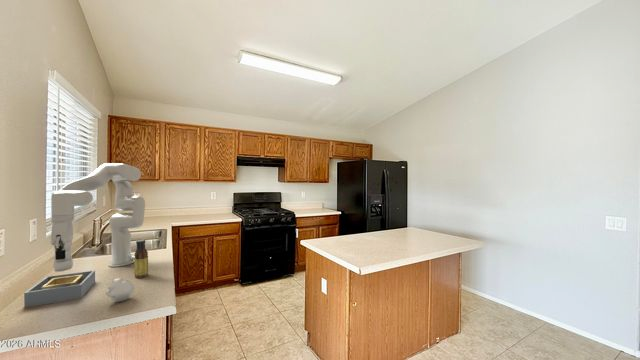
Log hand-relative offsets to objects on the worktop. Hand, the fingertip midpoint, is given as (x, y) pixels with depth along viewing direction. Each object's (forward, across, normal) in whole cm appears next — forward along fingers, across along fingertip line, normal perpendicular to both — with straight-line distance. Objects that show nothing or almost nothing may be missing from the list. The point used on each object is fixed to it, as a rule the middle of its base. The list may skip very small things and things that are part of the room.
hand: (63, 256), depth 120 cm
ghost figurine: (+17, +21, +25) cm, 37 cm away
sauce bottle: (+17, -8, +29) cm, 35 cm away
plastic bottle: (+7, 0, 0) cm, 7 cm away
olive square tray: (+17, 0, 0) cm, 17 cm away
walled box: (+17, 0, 0) cm, 17 cm away
